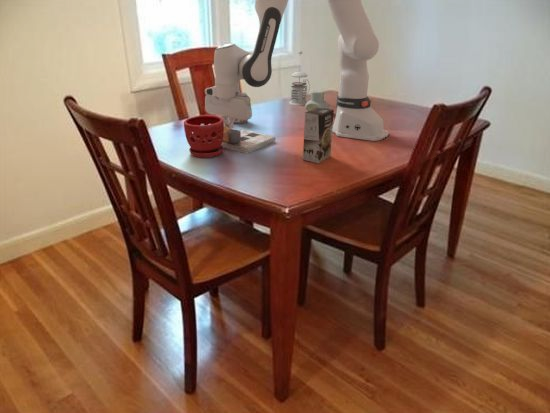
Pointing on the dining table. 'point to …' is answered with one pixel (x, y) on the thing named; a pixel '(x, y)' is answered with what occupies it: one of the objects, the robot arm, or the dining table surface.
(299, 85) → the french press
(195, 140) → the plant pot
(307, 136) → the coffee box
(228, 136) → the swing bar
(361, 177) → the dining table surface
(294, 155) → the dining table surface
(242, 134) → the panel
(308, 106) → the air freshener
